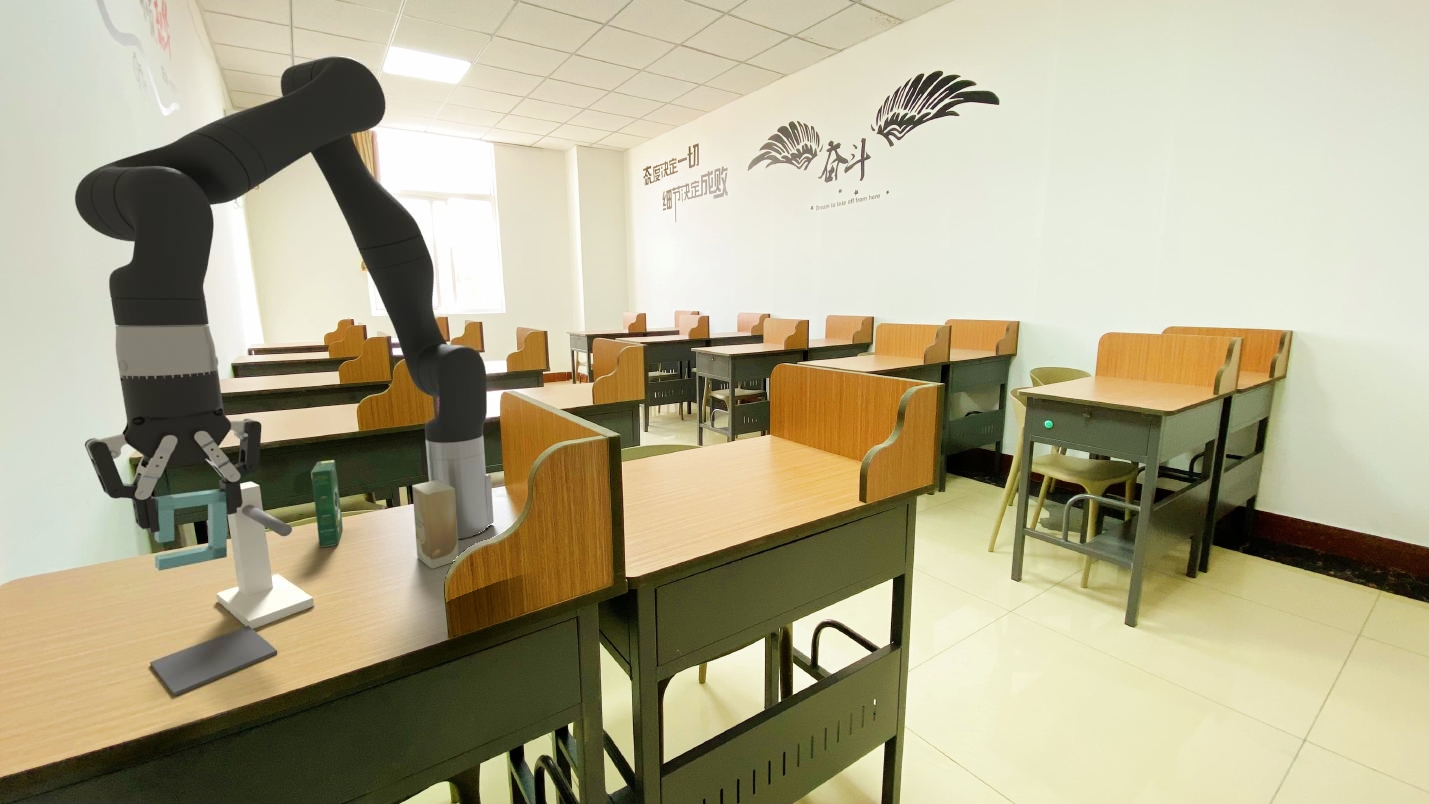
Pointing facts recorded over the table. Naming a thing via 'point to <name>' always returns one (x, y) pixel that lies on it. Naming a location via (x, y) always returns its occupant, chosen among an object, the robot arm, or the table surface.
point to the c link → (215, 527)
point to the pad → (211, 659)
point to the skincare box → (435, 523)
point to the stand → (258, 567)
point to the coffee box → (327, 503)
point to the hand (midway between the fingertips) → (192, 520)
